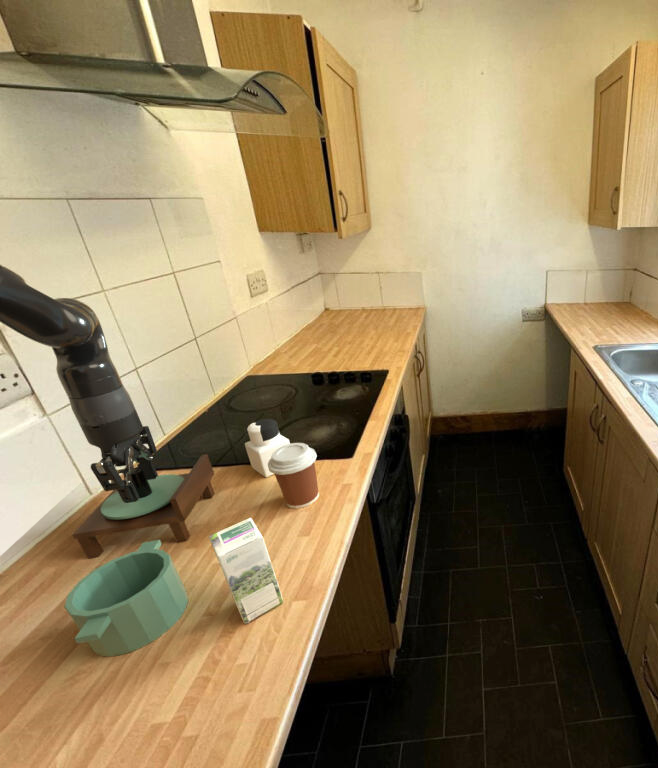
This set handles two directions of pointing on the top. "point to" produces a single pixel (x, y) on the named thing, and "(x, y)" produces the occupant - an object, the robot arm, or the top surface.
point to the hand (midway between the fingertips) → (142, 489)
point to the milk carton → (247, 569)
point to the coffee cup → (295, 473)
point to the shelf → (168, 514)
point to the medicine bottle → (263, 444)
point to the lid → (142, 496)
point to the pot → (128, 601)
